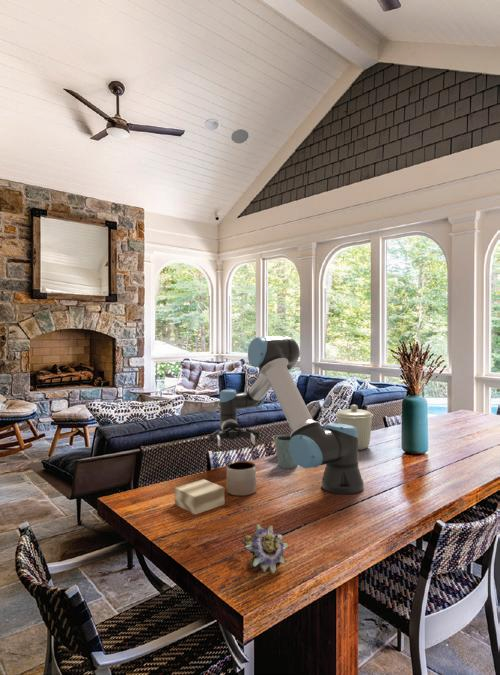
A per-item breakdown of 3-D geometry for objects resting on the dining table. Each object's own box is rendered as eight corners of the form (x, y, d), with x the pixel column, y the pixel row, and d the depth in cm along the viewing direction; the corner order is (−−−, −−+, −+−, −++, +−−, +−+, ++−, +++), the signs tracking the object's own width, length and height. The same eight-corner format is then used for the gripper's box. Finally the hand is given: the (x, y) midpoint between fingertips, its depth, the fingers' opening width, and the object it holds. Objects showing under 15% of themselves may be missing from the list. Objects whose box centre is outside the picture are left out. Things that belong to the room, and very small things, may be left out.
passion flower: (272, 594, 107) (257, 568, 101) (242, 569, 115) (226, 544, 109) (300, 555, 113) (287, 529, 107) (269, 534, 121) (255, 508, 114)
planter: (260, 487, 165) (259, 462, 165) (250, 498, 155) (250, 470, 155) (233, 484, 169) (232, 459, 169) (222, 495, 158) (221, 468, 158)
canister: (345, 441, 230) (344, 400, 229) (379, 445, 219) (378, 403, 219) (329, 449, 215) (328, 406, 215) (365, 454, 204) (364, 409, 204)
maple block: (224, 505, 150) (224, 487, 150) (195, 515, 142) (194, 496, 142) (203, 495, 159) (203, 479, 159) (175, 505, 151) (174, 487, 151)
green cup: (273, 467, 189) (272, 439, 189) (280, 460, 198) (280, 434, 198) (296, 469, 185) (295, 441, 185) (302, 462, 194) (302, 435, 194)
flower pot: (292, 459, 201) (291, 439, 200) (271, 458, 202) (271, 439, 202) (294, 453, 210) (293, 435, 210) (274, 452, 212) (274, 434, 211)
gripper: (259, 436, 194) (268, 449, 173) (202, 439, 191) (204, 453, 170) (259, 419, 194) (268, 430, 173) (201, 422, 190) (204, 433, 170)
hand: (236, 441), depth 171 cm, fingers open, 13 cm apart
